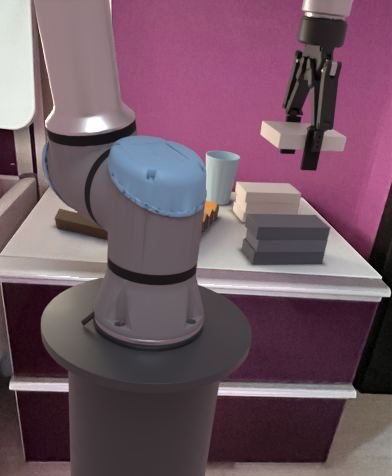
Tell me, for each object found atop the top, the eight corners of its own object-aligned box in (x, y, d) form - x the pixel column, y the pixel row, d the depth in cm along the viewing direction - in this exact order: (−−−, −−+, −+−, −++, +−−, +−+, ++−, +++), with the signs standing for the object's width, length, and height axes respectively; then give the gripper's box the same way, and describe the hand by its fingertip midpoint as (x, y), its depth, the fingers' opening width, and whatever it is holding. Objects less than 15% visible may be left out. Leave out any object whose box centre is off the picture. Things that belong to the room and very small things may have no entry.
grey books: (251, 264, 102) (258, 226, 98) (240, 249, 107) (246, 213, 103) (322, 264, 106) (331, 227, 102) (308, 249, 111) (316, 214, 107)
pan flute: (54, 228, 106) (177, 257, 101) (54, 211, 105) (179, 240, 99) (112, 193, 127) (218, 216, 121) (113, 178, 125) (220, 201, 119)
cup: (227, 195, 134) (233, 150, 129) (238, 206, 128) (245, 160, 123) (197, 195, 132) (201, 150, 126) (207, 206, 126) (212, 159, 120)
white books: (241, 222, 120) (246, 192, 116) (232, 210, 125) (236, 181, 122) (296, 223, 123) (302, 193, 119) (284, 211, 129) (290, 183, 125)
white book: (278, 148, 93) (280, 133, 92) (260, 134, 101) (262, 120, 100) (343, 151, 96) (346, 137, 95) (321, 137, 104) (324, 124, 102)
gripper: (380, 25, 80) (343, 181, 92) (318, 13, 98) (294, 145, 110) (332, 20, 78) (300, 180, 91) (278, 9, 96) (258, 144, 108)
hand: (297, 161), depth 100 cm, fingers closed on white book, 9 cm apart
